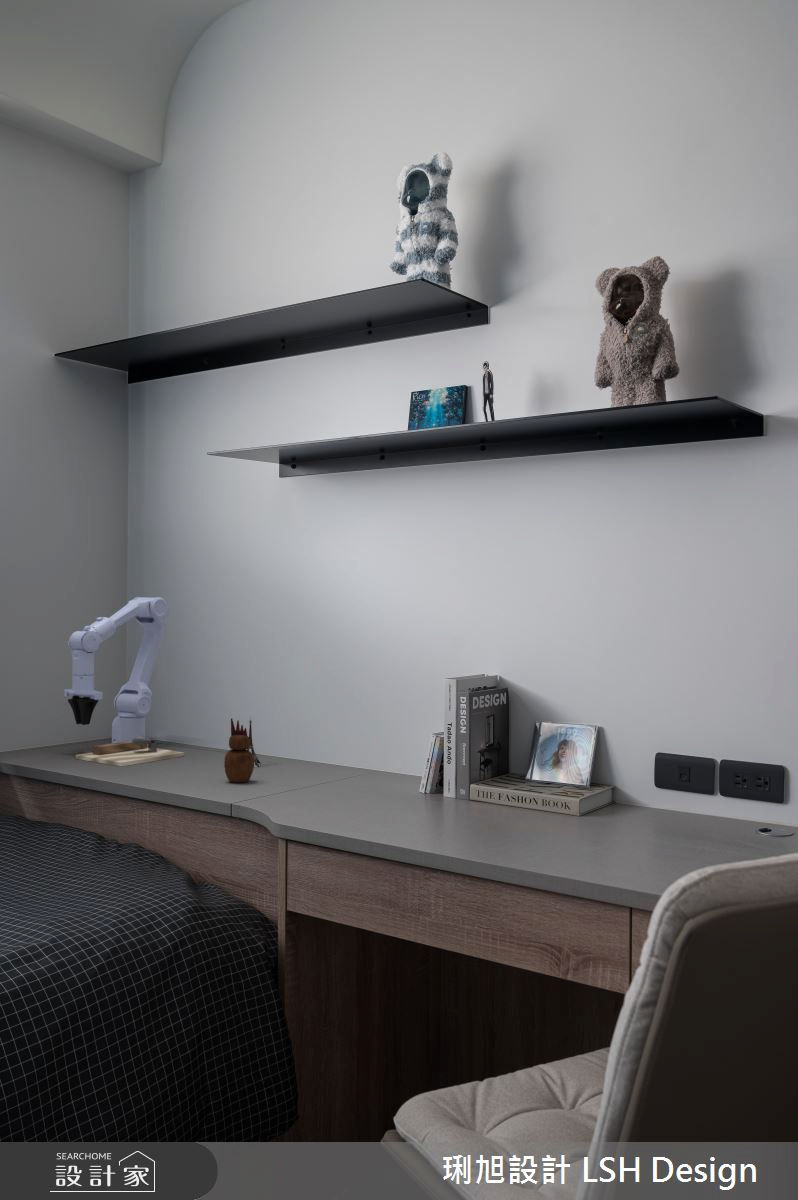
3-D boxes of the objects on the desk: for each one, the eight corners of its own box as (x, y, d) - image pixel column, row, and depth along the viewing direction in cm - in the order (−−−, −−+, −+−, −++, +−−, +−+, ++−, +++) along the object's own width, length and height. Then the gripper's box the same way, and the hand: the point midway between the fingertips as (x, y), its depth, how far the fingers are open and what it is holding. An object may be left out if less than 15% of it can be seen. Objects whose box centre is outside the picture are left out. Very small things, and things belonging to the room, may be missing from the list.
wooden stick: (140, 746, 272) (140, 735, 272) (147, 747, 271) (147, 736, 271) (92, 753, 260) (92, 742, 260) (99, 754, 258) (99, 743, 258)
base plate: (75, 758, 258) (75, 754, 258) (139, 749, 275) (139, 745, 275) (121, 766, 247) (121, 762, 247) (184, 756, 264) (184, 752, 264)
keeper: (131, 751, 265) (132, 739, 265) (154, 750, 267) (154, 738, 267) (134, 753, 261) (134, 741, 261) (156, 752, 264) (156, 740, 264)
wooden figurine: (220, 782, 226) (220, 719, 226) (231, 778, 232) (232, 716, 232) (246, 784, 224) (247, 720, 224) (257, 780, 230) (257, 717, 230)
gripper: (54, 674, 266) (54, 723, 266) (87, 677, 257) (86, 727, 257) (76, 672, 271) (76, 720, 271) (109, 675, 263) (108, 725, 263)
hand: (82, 724), depth 265 cm, fingers closed
